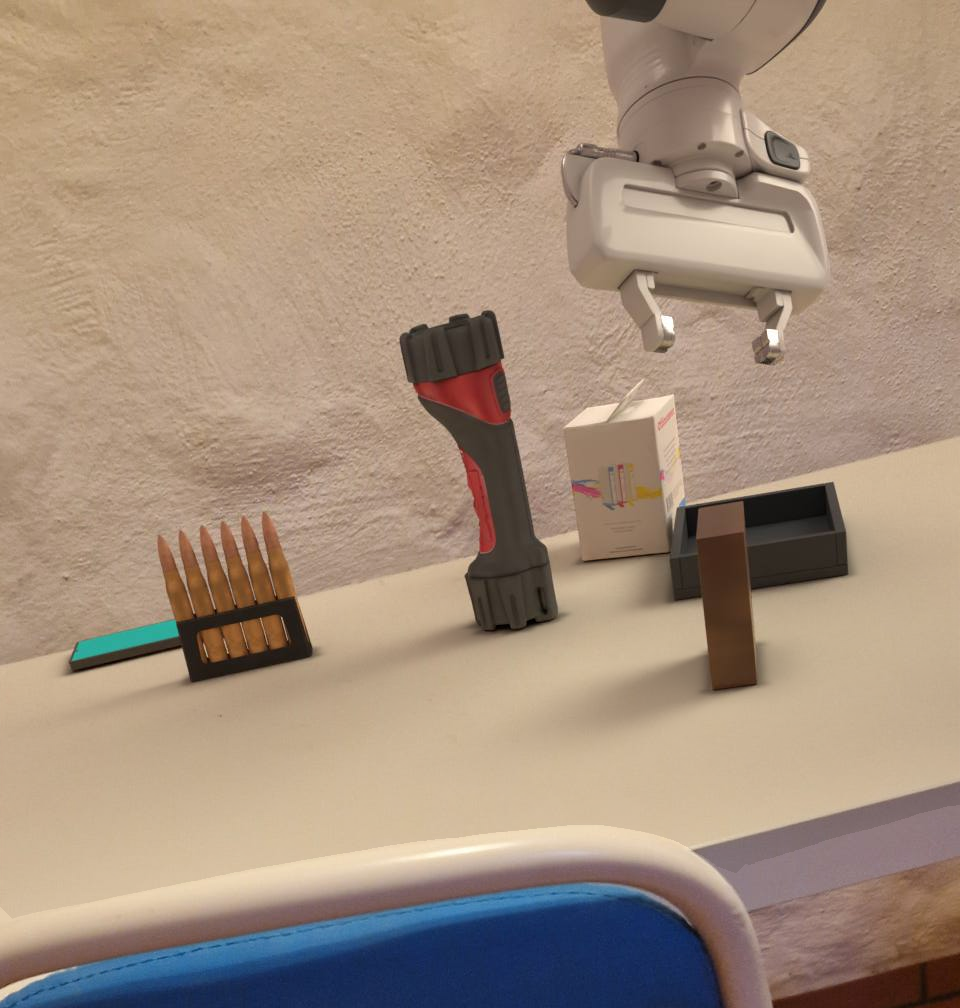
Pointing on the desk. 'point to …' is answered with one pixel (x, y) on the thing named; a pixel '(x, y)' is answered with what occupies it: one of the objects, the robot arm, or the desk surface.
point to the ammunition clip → (227, 611)
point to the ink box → (625, 476)
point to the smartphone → (125, 644)
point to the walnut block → (726, 595)
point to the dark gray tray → (771, 538)
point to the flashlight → (484, 464)
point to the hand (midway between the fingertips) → (716, 354)
